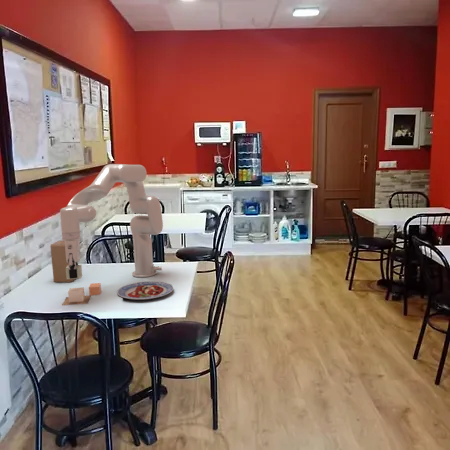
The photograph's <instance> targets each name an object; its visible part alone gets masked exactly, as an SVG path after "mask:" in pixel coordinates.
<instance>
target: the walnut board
mask: <svg viewBox="0 0 450 450" xmlns="http://www.w3.org/2000/svg"><path fill="white" fill-rule="evenodd" d="M84 297H85V298H84V301H81V302H69V296H67V297H65V299H64V301H63V302H62V306H72V305H84V304H89V303H90V300H91V298H92V295H90V294H89V295H84Z"/></svg>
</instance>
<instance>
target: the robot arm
mask: <svg viewBox="0 0 450 450" xmlns="http://www.w3.org/2000/svg"><path fill="white" fill-rule="evenodd" d="M147 176H148V175H147V169H146V167H145V166H144V165H142V164H125V163H123V164H122V163H116V164H115V163H109V164H106V165H104V166H103V168H102V169H101V171H99V173H98V175H97V176H96V177H95V179H94V180H93V182H92V183H91V184H90V185H89V186H88V185H87V186H86V187H85V188H83V189H82V190H80V191H79V192H78V193H76V194H75V195H73V197H72V198H71V199H70V200H69V202H68V204H67V205H66V206H65V207H62V208H60V209H59V217H60V227H61V241H65V251H66V261H67V263H69V277H70V279H71V278H77V269H76V265H79V262H80V261H81V258H82V254H81V246H80V240H81V231H80V229H81V227H80V223H90V222H91V221H94V220H95V218H96V217H97V210H96V208H94V206H93V205H89V204H90V203H93V202H96V201H99V200H101V199H104V198H105V197H107V196H108V194H109V193H110V192H111V190H112V189H113V187H114V185H115V184H116V183H122V184H123V185H125V187H126V191H127V194H128V202H129V206H130V210H131V212H132V213H134V214H138V215H135V216H132V218H131V220H130V222H129V227H130V231H131V234H132V241H133V243H132V244H133V257H134V259H133V260H134V271H133V272H131V273H132V276H133V277H134V278H135V277H136V278H149V277H153V276H155V275H157V271H162V270H163V269H162V266H157V265H156V266H154V261H153V260H154V259H153V244H152V238H151V236H152V235H153V236H156V235H159V234H161V233H162V231H163V227H164V223H163V222H164V221H163V214H162V207H161V202H160V200H159V199H158V197H156V196H154V195H146V191H145V186H144V183H143V182H144V181H145V179H146V178H147ZM150 235H151V236H150Z"/></svg>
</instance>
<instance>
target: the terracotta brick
mask: <svg viewBox="0 0 450 450" xmlns="http://www.w3.org/2000/svg"><path fill="white" fill-rule="evenodd" d="M101 283H102V282H96V283H95V282H93V283H90V284H89V286H88V292H89V295H91V296H97V295H101V292H102V286H101V285H102V284H101Z"/></svg>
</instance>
